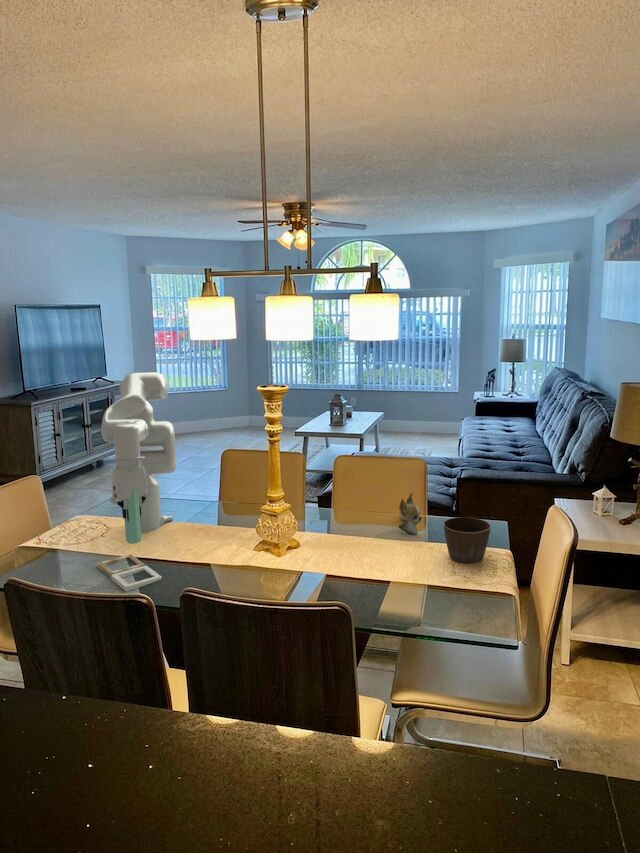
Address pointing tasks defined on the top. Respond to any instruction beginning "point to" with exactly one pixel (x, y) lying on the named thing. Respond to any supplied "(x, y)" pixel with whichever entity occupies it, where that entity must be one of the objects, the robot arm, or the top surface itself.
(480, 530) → the plant pot
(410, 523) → the ceramic sculpture
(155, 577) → the stand
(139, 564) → the stand
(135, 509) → the container
